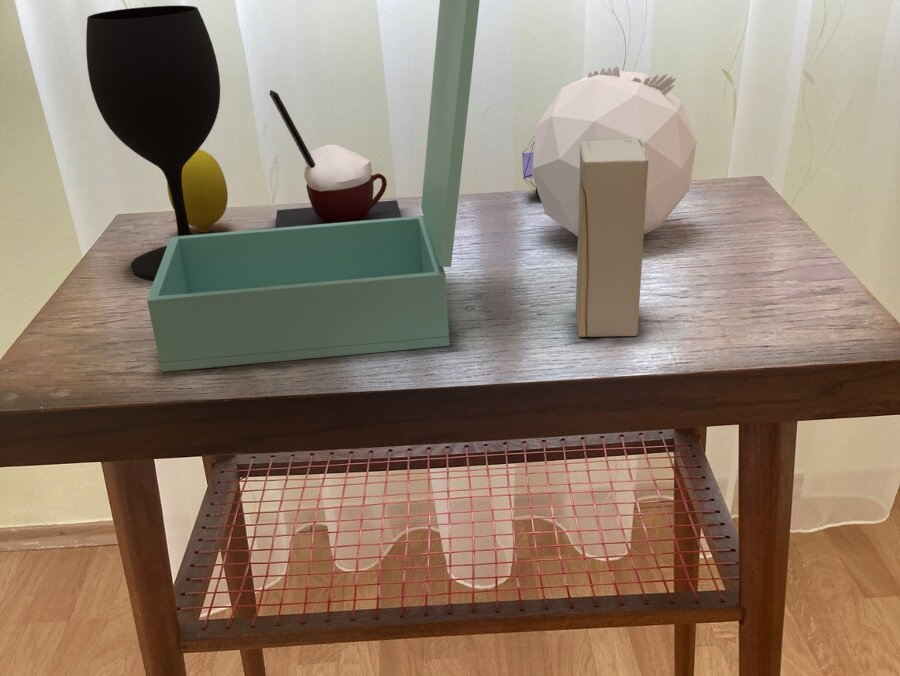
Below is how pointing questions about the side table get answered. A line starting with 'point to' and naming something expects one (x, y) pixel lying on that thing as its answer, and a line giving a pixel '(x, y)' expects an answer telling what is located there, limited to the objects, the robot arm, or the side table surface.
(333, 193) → the cocoa
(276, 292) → the teal open box
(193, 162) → the lemon
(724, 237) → the side table surface
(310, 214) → the mat
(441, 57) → the lid
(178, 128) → the wine glass
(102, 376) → the side table surface
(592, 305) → the cosmetic box
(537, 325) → the side table surface
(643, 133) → the geodesic sphere
